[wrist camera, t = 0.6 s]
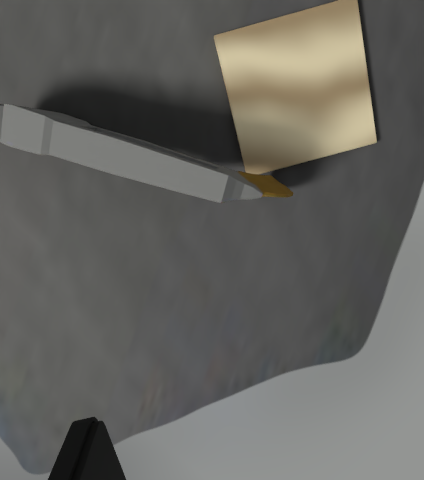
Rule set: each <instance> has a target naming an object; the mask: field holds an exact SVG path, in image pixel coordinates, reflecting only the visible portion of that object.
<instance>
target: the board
mask: <svg viewBox="0 0 424 480" xmlns="http://www.w3.org/2000/svg"><path fill="white" fill-rule="evenodd" d="M214 40H215V44H216V48H217V53H218V57H219V61H220V65H221V70H222V74H223V78H224V82H225V87H226V91H227V95H228V99H229V104H230V108H231V112H232V116H233V121H234V125H235V129H236V133H237V137H238V142H239V146H240V150H241V154H242V159H243V163H244V167H245V171H246V173H251V174H262V173H265V172H269V171H273V170H277V169H280V168H284V167H288V166H292V165H295V164H299V163H303V162H306V161H310V160H314V159H318V158H321V157H325V156H329V155H333V154H336V153H340V152H344V151H347V150H351V149H355V148H359V147H362V146H366V145H370V144H374V143H377V139H376V132H375V125H374V117H373V110H372V103H371V95H370V88H369V81H368V74H367V66H366V59H365V52H364V44H363V37H362V30H361V23H360V15H359V8H358V1H357V0H338V1H335V2H331V3H328V4H324V5H321V6H317V7H314V8H310V9H307V10H303V11H299V12H296V13H292V14H289V15H285V16H282V17H278V18H275V19H271V20H268V21H264V22H260V23H257V24H253V25H250V26H246V27H243V28H239V29H236V30H232V31H229V32H225V33H222V34H218V35H214Z"/></svg>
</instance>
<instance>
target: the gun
mask: <svg viewBox="0 0 424 480" xmlns="http://www.w3.org/2000/svg"><path fill="white" fill-rule="evenodd" d="M0 143H3V144H5V145H7V146H10V147H14V148H17V149H21V150H24V151H28V152H31V153H35V154H39V155H52V156H55V157H58V158H62V159H65V160H68V161H71V162H75V163H78V164H81V165H84V166H88V167H91V168H94V169H97V170H101V171H104V172H107V173H111V174H114V175H118V176H122V177H125V178H129V179H133V180H136V181H140V182H143V183H147V184H151V185H154V186H158V187H162V188H165V189H169V190H173V191H176V192H180V193H184V194H188V195H192V196H195V197H199V198H203V199H207V200H211V201H214V202H218V203H224V202H228V201H233V200H238V199H247V200H249V199H256V198H262V197H265V196H267V197H290V196H293V192H292V191H291V190H289V189H288V188H287V187H286V186H285V185H283V184H281V183H280V182H278V181H277V180H276V179H275V178H273V177H272V176H271V175H258V174H251V173H246V172H241V171H238V172H237V171H234V170H231V169H228V168H225V167H222V166H219V165H216V164H213V163H211V162H208V161H205V160H200V159H197V158H194V157H191V156H188V155H185V154H182V153H179V152H176V151H173V150H171V149H168V148H165V147H162V146H159V145H156V144H153V143H150V142H147V141H144V140H141V139H137V138H134V137H130V136H127V135H124V134H120V133H117V132H113V131H110V130H106V129H103V128H99V127H96V126H92V125H90V124H89V123H88V122H87V121H84V120H81V119H78V118H75V117H72V116H69V115H66V114H63V113H58V112H53V111H47V110H40V109H34V108H28V107H21V106H15V105H9V104H4V105H3V104H0Z"/></svg>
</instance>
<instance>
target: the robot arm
mask: <svg viewBox="0 0 424 480" xmlns="http://www.w3.org/2000/svg"><path fill="white" fill-rule="evenodd" d="M48 480H126V478H125V476H124V473H123V470H122V468H121V465H120V463H119V460H118V457H117V455H116V452H115V450H114V447H113V444H112V442H111V439H110V437H109V434H108V432H107V429H106V426H105V424H104V422H103V421H98V420H97V419H96V418H95V417H91V418H86V419H82V420H78V421H74V422H73V423H72V425H71V427H70V429H69V431H68V434H67V436H66V438H65V441H64V443H63V445H62V448H61V450H60V452H59V455H58V457H57V459H56V462H55V464H54V466H53V469H52V471H51V473H50V476H49V478H48Z"/></svg>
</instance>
